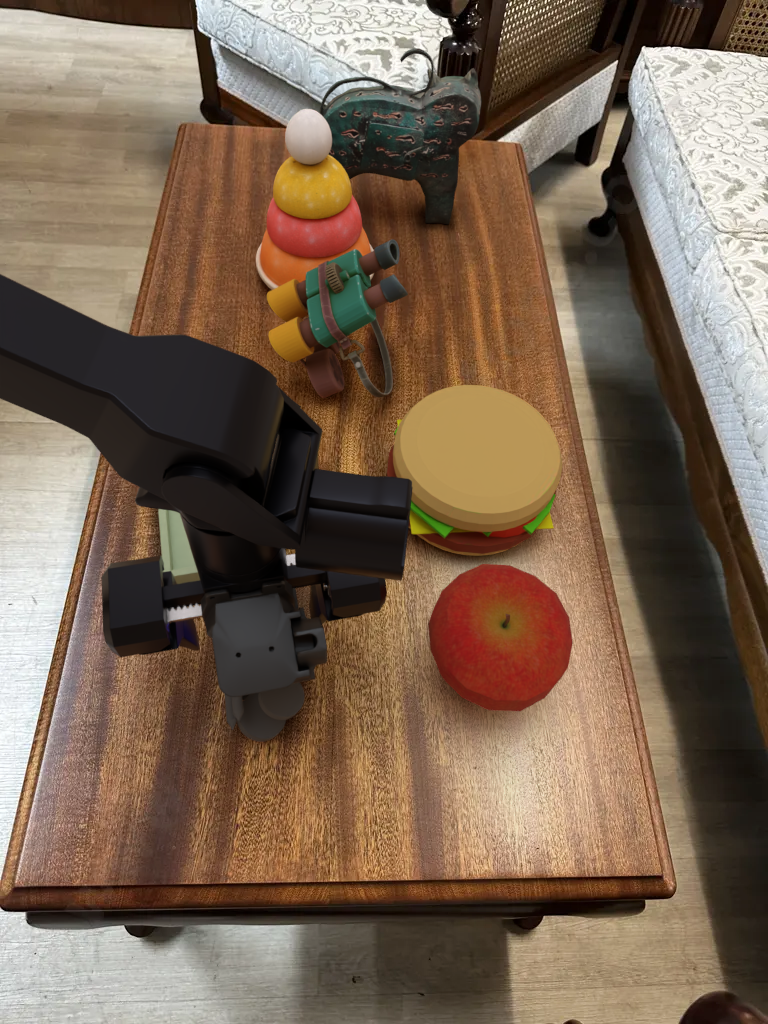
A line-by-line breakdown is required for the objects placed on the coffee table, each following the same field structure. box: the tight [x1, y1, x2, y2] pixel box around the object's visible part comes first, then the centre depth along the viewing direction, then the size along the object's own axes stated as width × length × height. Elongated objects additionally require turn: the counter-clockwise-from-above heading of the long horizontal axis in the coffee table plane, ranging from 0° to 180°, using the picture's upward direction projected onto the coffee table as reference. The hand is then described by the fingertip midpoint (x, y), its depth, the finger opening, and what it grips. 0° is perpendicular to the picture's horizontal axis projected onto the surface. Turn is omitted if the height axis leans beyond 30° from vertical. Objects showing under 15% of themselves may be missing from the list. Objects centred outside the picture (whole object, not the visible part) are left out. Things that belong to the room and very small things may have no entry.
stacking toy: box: [255, 108, 375, 291], centre depth 79 cm, size 14×14×20 cm
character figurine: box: [223, 588, 305, 743], centre depth 58 cm, size 8×7×15 cm
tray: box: [157, 509, 200, 584], centre depth 68 cm, size 10×17×2 cm, turn 13°
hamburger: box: [386, 384, 563, 557], centre depth 68 cm, size 16×16×8 cm
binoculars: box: [266, 238, 409, 399], centre depth 73 cm, size 14×14×15 cm
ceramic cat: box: [318, 47, 482, 225], centre depth 86 cm, size 20×6×20 cm, turn 89°
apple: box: [427, 563, 574, 712], centre depth 56 cm, size 11×11×12 cm
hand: (256, 633), depth 57 cm, fingers open, 9 cm apart
